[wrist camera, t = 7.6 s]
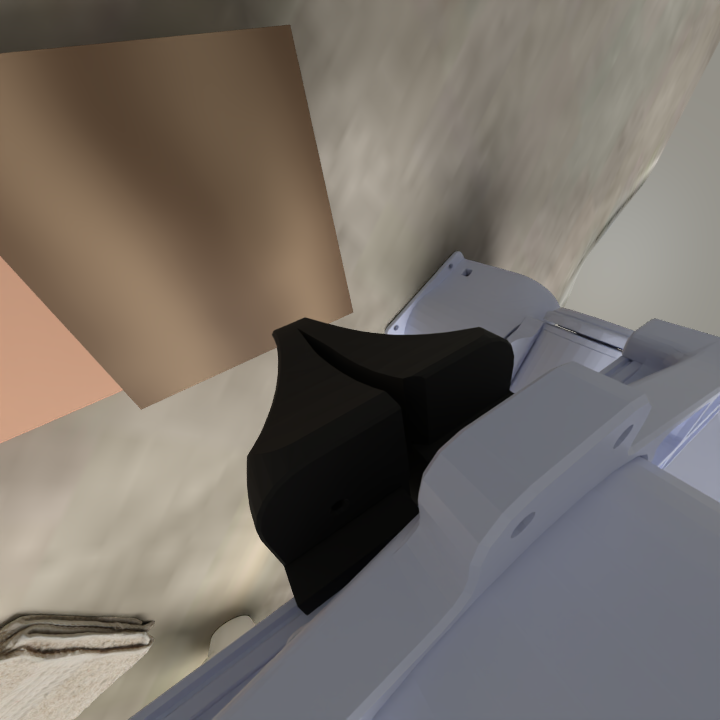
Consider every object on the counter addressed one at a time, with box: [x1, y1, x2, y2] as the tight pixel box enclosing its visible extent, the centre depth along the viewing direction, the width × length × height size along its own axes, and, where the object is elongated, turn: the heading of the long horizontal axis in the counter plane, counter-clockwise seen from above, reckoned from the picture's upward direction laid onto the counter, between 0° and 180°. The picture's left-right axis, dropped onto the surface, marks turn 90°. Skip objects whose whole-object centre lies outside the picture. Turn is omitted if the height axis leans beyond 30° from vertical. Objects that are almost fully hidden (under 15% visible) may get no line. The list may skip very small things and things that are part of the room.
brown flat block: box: [0, 25, 353, 409], centre depth 14 cm, size 12×12×4 cm
